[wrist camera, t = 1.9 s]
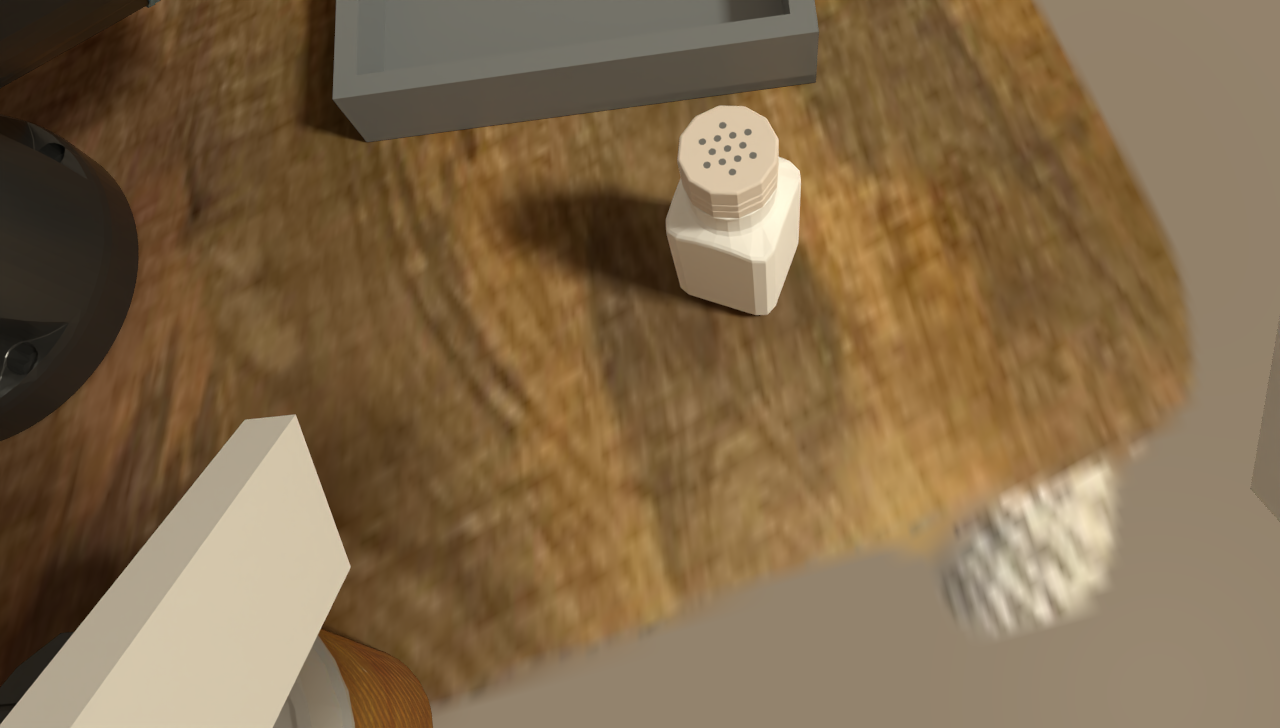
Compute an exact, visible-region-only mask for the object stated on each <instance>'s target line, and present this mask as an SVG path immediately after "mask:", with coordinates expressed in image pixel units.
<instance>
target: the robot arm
mask: <svg viewBox="0 0 1280 728" xmlns="http://www.w3.org/2000/svg"><path fill="white" fill-rule="evenodd" d="M159 1H160V0H0V88H2V87H3V86H5V85H7V84H9V83H10V82H12V81H14V80H16V79H17V78H19V77H21V76H23V75H25V74H26V73H28V72H30V71H32V70H33V69H35V68H37V67H39V66H40V65H42V64H44V63H46V62H48V61H49V60H51V59H53V58H55V57H56V56H58V55H60V54H62V53H63V52H65V51H67V50H69V49H71V48H72V47H74V46H76V45H78V44H79V43H81V42H83V41H85V40H86V39H88V38H90V37H92V36H94V35H95V34H97V33H99V32H101V31H102V30H104V29H106V28H108V27H109V26H111V25H113V24H115V23H117V22H118V21H120V20H122V19H124V18H125V17H127V16H129V15H131V14H132V13H134V12H136V11H138V10H140V9H141V8H143V7H145V6H146V7H148V8H149V7H151V6H153V5H155V3H156V2H159ZM137 270H138V239H137V231H136V226H135V222H134V218H133V214H132V211H131V209H130V206H129V204H128V201H127V199H126V197H125V195H124V194H123V192H122V190H121V188H120V187H119V185H118V184H117V183H116V181H115V180H114V179H113V178H112V176H111V175H110V174H109V173H108V172H107V171H106V170H105V169H104V168H103V167H102V166H101V165H99V164H98V163H97V162H96V161H94V160H93V159H92V158H90V157H89V156H87V155H86V154H85V153H83V152H82V151H80V150H79V149H78V148H76V147H75V146H74V145H72V144H71V143H69V142H68V141H67V140H65V139H64V138H62V137H60V136H59V135H57V134H55V133H53V132H51V131H49V130H47V129H45V128H43V127H41V126H38V125H36V124H33V123H31V122H27V121H24V120H20V119H17V118H13V117H10V116H6V115H3V114H0V441H2V440H4V439H7V438H9V437H11V436H13V435H16V434H18V433H20V432H22V431H24V430H25V429H27V428H29V427H31V426H33V425H34V424H36V423H37V422H39V421H41V420H42V419H44V418H45V417H46V416H48V415H49V414H51V413H52V412H53V411H55V410H56V409H57V408H58V407H60V406H61V405H62V404H63V403H64V402H66V401H67V400H68V399H69V398H70V397H71V396H72V395H73V394H74V393H75V392H76V391H77V390H78V389H79V388H80V387H81V386H82V385H83V384H84V383H85V382H86V380H87V379H88V378H89V377H90V376H91V375H92V373H93V372H94V371H95V370H96V368H97V367H98V366H99V364H100V363H101V362H102V360H103V359H104V357H105V356H106V354H107V353H108V351H109V349H110V348H111V346H112V344H113V343H114V341H115V339H116V337H117V335H118V333H119V331H120V329H121V327H122V325H123V322H124V320H125V318H126V315H127V312H128V309H129V307H130V303H131V300H132V296H133V293H134V288H135V283H136V277H137ZM1251 490H1252V491H1253V492H1254V493H1255V494H1256V496H1257V497H1258V498H1259V499H1260V500H1261V501H1262V502H1263V503H1264V505H1265V506H1266V507H1267V508H1268V509H1269V510H1270V511H1271V513H1272V514H1273V515H1274V516H1275V517H1276V518H1277V520H1278V521H1279V522H1280V318H1279V323H1278V329H1277V336H1276V341H1275V347H1274V353H1273V359H1272V365H1271V370H1270V377H1269V382H1268V388H1267V394H1266V401H1265V406H1264V412H1263V417H1262V423H1261V429H1260V435H1259V442H1258V447H1257V453H1256V459H1255V465H1254V470H1253V477H1252V482H1251ZM350 568H351V566H350V564H349V561H348V558H347V555H346V553H345V550H344V547H343V544H342V541H341V539H340V536H339V533H338V530H337V528H336V525H335V522H334V519H333V517H332V514H331V511H330V508H329V505H328V503H327V500H326V497H325V494H324V492H323V489H322V486H321V483H320V481H319V478H318V475H317V472H316V469H315V467H314V464H313V461H312V458H311V456H310V453H309V450H308V447H307V445H306V442H305V439H304V436H303V433H302V431H301V428H300V425H299V422H298V420H297V417H296V414H295V415H286V416H277V417H267V418H258V419H248V420H244V421H243V423H242V424H241V425H240V426H239V428H238V429H237V430H236V431H235V433H234V434H233V435H232V436H231V438H230V439H229V440H228V441H227V443H226V444H225V445H224V446H223V448H222V449H221V450H220V451H219V453H218V454H217V455H216V456H215V458H214V459H213V460H212V461H211V463H210V464H209V465H208V466H207V468H206V469H205V470H204V471H203V472H202V474H201V475H200V476H199V477H198V479H197V480H196V481H195V482H194V484H193V485H192V486H191V487H190V489H189V490H188V491H187V492H186V494H185V495H184V496H183V497H182V499H181V500H180V501H179V502H178V504H177V505H176V506H175V507H174V509H173V510H172V511H171V512H170V514H169V515H168V516H167V517H166V519H165V520H164V521H163V522H162V524H161V525H160V526H159V527H158V529H157V530H156V531H155V532H154V534H153V535H152V536H151V537H150V539H149V540H148V541H147V542H146V544H145V545H144V546H143V547H142V549H141V550H140V551H139V552H138V553H137V555H136V556H135V557H134V558H133V560H132V561H131V562H130V563H129V565H128V566H127V567H126V568H125V570H124V571H123V572H122V573H121V575H120V576H119V577H118V578H117V580H116V581H115V582H114V583H113V585H112V586H111V587H110V588H109V590H108V591H107V592H106V593H105V595H104V596H103V597H102V598H101V600H100V601H99V602H98V603H97V605H96V606H95V607H94V608H93V610H92V611H91V612H90V613H89V615H88V616H87V617H86V618H85V620H84V621H83V622H82V623H81V625H80V626H79V627H78V628H77V629H76V631H75V632H68V633H60V634H59V635H58V636H57V637H55V638H54V639H53V640H52V641H50V642H49V643H48V644H46V645H45V646H44V647H43V648H41V649H40V650H39V651H37V652H36V653H35V654H34V655H32V656H31V657H30V658H28V659H27V660H26V661H25V662H23V663H22V664H21V665H19V666H18V667H17V668H16V669H15V671H14V672H13V673H12V674H11V675H10V676H9V678H8V679H7V680H6V681H5V682H4V684H3V685H2V686H1V687H0V728H273V726H274V724H275V722H276V720H277V718H278V716H279V713H280V711H281V709H282V707H283V705H284V703H285V701H286V699H287V697H288V695H289V693H290V691H291V689H292V687H293V685H294V683H295V681H296V679H297V676H298V674H299V672H300V670H301V668H302V666H303V664H304V662H305V660H306V658H307V656H308V654H309V652H310V650H311V648H312V646H313V644H314V642H315V639H316V637H317V635H318V633H319V631H320V629H321V627H322V625H323V623H324V621H325V619H326V617H327V615H328V613H329V611H330V609H331V607H332V605H333V602H334V600H335V598H336V596H337V594H338V592H339V590H340V588H341V586H342V584H343V582H344V580H345V578H346V576H347V574H348V572H349V570H350Z"/></svg>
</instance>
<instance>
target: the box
mask: <svg viewBox="0 0 1280 728" xmlns="http://www.w3.org/2000/svg"><path fill="white" fill-rule="evenodd" d="M818 36H819V30H818V23H817V16H816V8H815V1H814V0H336V21H335V48H334V75H333V101H334V102H335V103H336V104H337V106H338V107H339V108H340V109H341V111H342V112H343V113H344V114H345V116H346V117H347V118H348V119H349V121H350V122H351V123H352V124H353V126H354V127H355V128H356V129H357V131H358V132H359V133H360V134H361V136H362V137H363V138H364V139H365V141H366V142H372V141H380V140H387V139H395V138H402V137H410V136H417V135H425V134H432V133H440V132H447V131H454V130H462V129H469V128H477V127H484V126H492V125H499V124H507V123H514V122H522V121H529V120H537V119H544V118H552V117H559V116H567V115H574V114H582V113H589V112H597V111H604V110H612V109H619V108H627V107H634V106H642V105H649V104H657V103H664V102H672V101H679V100H687V99H694V98H702V97H709V96H717V95H724V94H732V93H739V92H746V91H754V90H761V89H769V88H776V87H784V86H791V85H799V84H806V83H814V82H816V69H817V52H818Z"/></svg>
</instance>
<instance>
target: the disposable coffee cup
mask: <svg viewBox="0 0 1280 728" xmlns="http://www.w3.org/2000/svg"><path fill="white" fill-rule="evenodd" d="M273 728H433V724H432V713H431V708H430V705H429V701H428V698H427V696H426V694H425V692H424V690H423V688H422V686H421V684H420V682H419V680H418V679H417V678H416V676H415V675H414V674H413V673H412V672H411V670H410V669H409V668H408V667H407V666H406V665H405V664H403V663H402V662H401V661H400V660H398V659H397V658H395V657H393V656H391V655H389V654H388V653H386V652H382V651H379V650H376V649H373V648H370V647H368V646H366V645H363V644H360V643H357V642H354V641H352V640H349V639H347V638H345V637H341V636H339V635H336V634H333V633H330V632H327V631H325V630H323V629H320V631H319V633H318V635H317V637H316V639H315V642H314V644H313V646H312V648H311V650H310V652H309V654H308V656H307V658H306V660H305V662H304V664H303V666H302V668H301V670H300V672H299V674H298V676H297V679H296V681H295V683H294V685H293V687H292V689H291V691H290V693H289V695H288V697H287V699H286V701H285V703H284V705H283V707H282V709H281V711H280V713H279V716H278V718H277V720H276V722H275V724H274V726H273Z"/></svg>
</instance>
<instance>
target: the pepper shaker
mask: <svg viewBox="0 0 1280 728" xmlns="http://www.w3.org/2000/svg"><path fill="white" fill-rule="evenodd" d="M778 150H779V139H778V137H777V136H776V134H775V132H774V130H773V129H772V127H771V125H770V123H769V122H768V120H767V118H765V117H763V116H761V115H759V114H758V113H756V112H754V111H752V110H750V109H749V108H747V107H745V106H717V107H715V108H713V109H711V110H708V111H706V112H704V113H702V114H700V115H698V116H696V117H695V118H694V119H693V120H692V121H691V123H690V124H689V125H688V127H687V128H686V129H685V131H684V132H683V133H682V135H681V136H680V139H679V149H678V158H677V161H678V166H679V171H680V176H681V179H680V181H679V183H678V186H677V189H676V191H675V194H674V197H673V199H672V202H671V205H670V208H669V211H668V214H667V217H666V220H665V221H666V234H667V238H668V242H669V246H670V249H671V253H672V257H673V261H674V264H675V268H676V272H677V276H678V279H679V283H680V287H681V288H682V289H683V290H684V291H685V292H687V293H688V294H689V295H692V296H695V297H699V298H702V299H705V300H708V301H711V302H715V303H718V304H721V305H724V306H728V307H731V308H734V309H737V310H740V311H744V312H747V313H750V314H753V315H768V313H769V312H770V311H771V310H772V309H773V308H774V307H775V306H776V303H777V300H778V298H779V295H780V292H781V289H782V287H783V284H784V281H785V278H786V276H787V273H788V270H789V267H790V265H791V262H792V259H793V256H794V254H795V251H796V248H797V245H798V237H799V214H800V191H801V177H800V171H799V170H798V169H797V168H796V167H795V166H794V165H793V164H792V163H791V162H790V161H788V160H786V159H783V158H781V157H779V152H778Z"/></svg>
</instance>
